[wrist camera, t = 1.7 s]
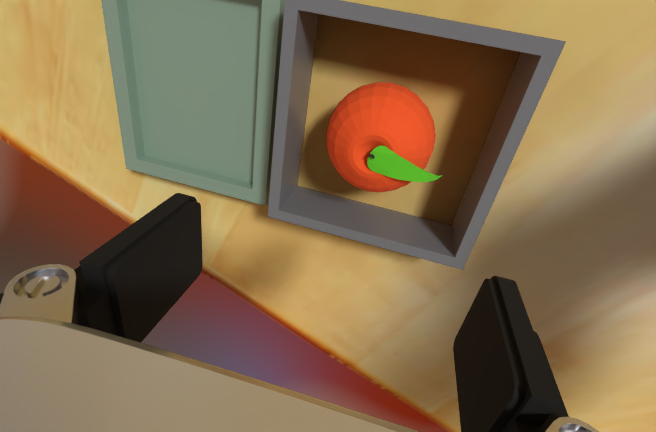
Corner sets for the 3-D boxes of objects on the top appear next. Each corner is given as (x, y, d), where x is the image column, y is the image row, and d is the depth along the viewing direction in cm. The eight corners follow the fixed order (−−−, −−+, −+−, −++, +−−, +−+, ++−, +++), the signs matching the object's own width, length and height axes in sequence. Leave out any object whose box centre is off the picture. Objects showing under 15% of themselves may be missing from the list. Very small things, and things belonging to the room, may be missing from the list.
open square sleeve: (541, 37, 21) (565, 41, 18) (458, 236, 29) (462, 269, 25) (309, -5, 23) (285, -10, 19) (287, 191, 31) (267, 216, 27)
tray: (293, -21, 23) (282, -24, 21) (274, 195, 31) (265, 205, 30) (115, -53, 25) (92, -58, 23) (141, 160, 33) (126, 168, 31)
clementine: (468, 108, 24) (481, 138, 18) (417, 190, 28) (414, 238, 22) (362, 57, 24) (340, 70, 18) (325, 145, 28) (296, 180, 22)
